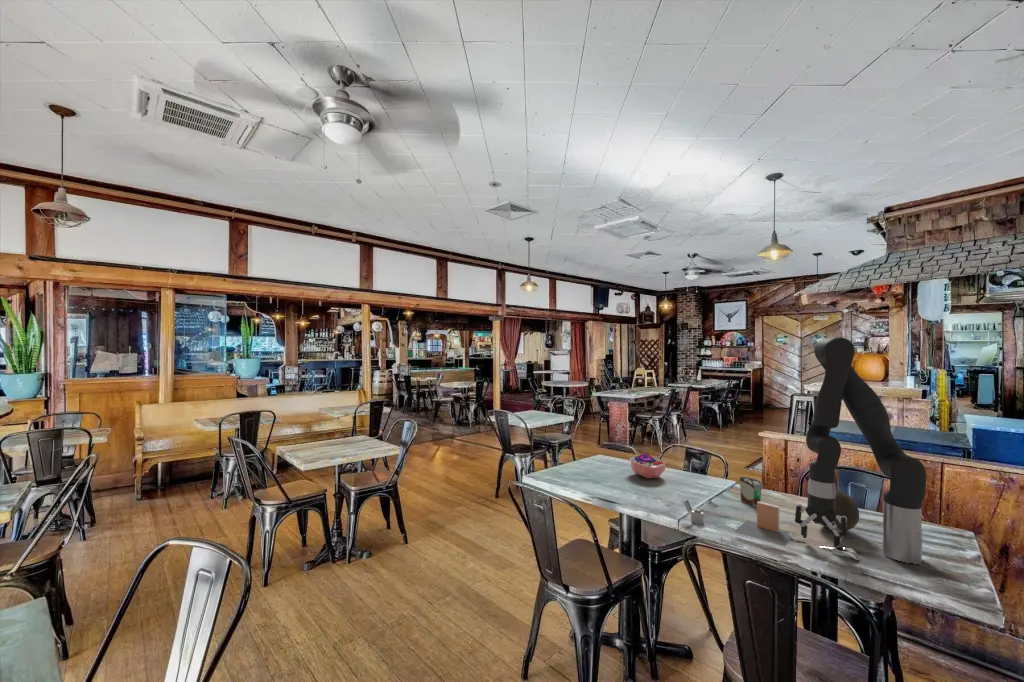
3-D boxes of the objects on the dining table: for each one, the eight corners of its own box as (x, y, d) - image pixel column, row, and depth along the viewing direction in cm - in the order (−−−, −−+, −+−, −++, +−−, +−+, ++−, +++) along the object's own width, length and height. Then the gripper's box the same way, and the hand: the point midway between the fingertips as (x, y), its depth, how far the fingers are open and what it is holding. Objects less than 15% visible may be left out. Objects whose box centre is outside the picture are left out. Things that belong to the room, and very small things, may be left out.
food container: (769, 509, 178) (769, 485, 178) (754, 509, 178) (755, 485, 178) (752, 498, 191) (753, 476, 191) (739, 498, 191) (739, 476, 191)
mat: (795, 534, 156) (795, 533, 156) (784, 547, 146) (784, 546, 146) (747, 521, 167) (747, 519, 167) (734, 532, 157) (734, 530, 157)
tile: (779, 531, 157) (779, 506, 157) (778, 532, 156) (778, 507, 156) (758, 525, 162) (758, 501, 162) (756, 526, 161) (756, 502, 161)
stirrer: (786, 529, 151) (790, 525, 154) (785, 539, 151) (790, 535, 154) (858, 554, 136) (861, 549, 139) (857, 565, 136) (860, 560, 139)
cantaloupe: (816, 519, 169) (816, 481, 169) (862, 531, 158) (862, 490, 158) (806, 530, 159) (806, 489, 159) (854, 543, 149) (854, 500, 149)
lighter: (703, 523, 165) (703, 502, 165) (702, 525, 163) (702, 504, 163) (684, 519, 169) (684, 498, 169) (683, 520, 168) (683, 500, 168)
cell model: (635, 483, 212) (635, 459, 212) (626, 470, 232) (626, 449, 232) (670, 483, 211) (670, 460, 211) (658, 471, 231) (658, 449, 231)
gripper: (850, 496, 143) (848, 545, 143) (799, 485, 153) (798, 531, 153) (845, 502, 137) (844, 553, 138) (793, 490, 148) (792, 537, 148)
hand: (820, 541), depth 145 cm, fingers open, 8 cm apart
